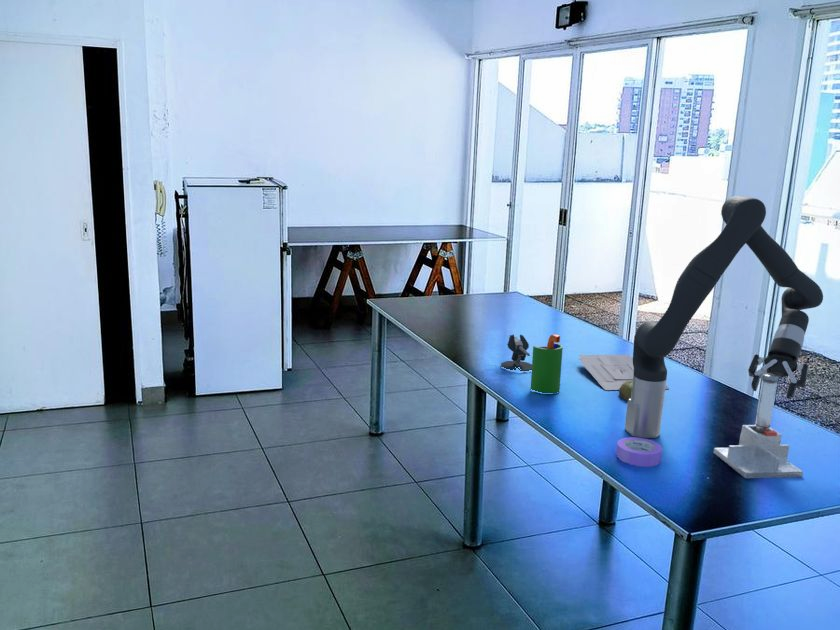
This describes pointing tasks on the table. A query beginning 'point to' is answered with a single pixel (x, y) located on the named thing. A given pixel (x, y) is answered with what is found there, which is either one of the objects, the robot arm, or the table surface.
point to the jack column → (766, 402)
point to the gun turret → (518, 354)
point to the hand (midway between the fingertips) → (771, 393)
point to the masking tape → (639, 451)
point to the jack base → (759, 455)
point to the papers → (609, 369)
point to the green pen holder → (547, 366)
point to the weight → (626, 390)
